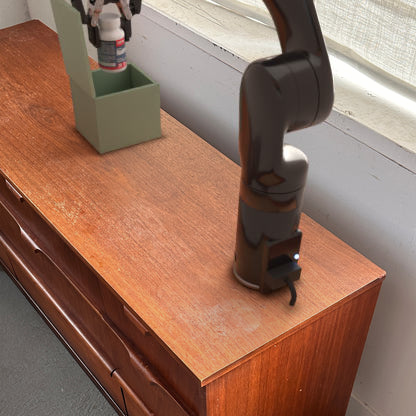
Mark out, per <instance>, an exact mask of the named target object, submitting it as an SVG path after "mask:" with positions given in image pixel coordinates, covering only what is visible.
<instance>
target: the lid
mask: <svg viewBox="0 0 416 416" xmlns="http://www.w3.org/2000/svg"><path fill="white" fill-rule="evenodd" d="M49 1H50V7H51V10H52V11H51V12H52V15H53V19H54V20H53V21H54V24H55V28H56V33H57V38H58V42H59V46H60V51H61V56H62V59H63V64H64V68H65V69H64V70H65V73H66V75H67V76H68V77H69V76H70V77H71V78H72V79H73V80H74V81H75V82H76V83H77V84H78V85H79V86H80V87H81V88H82V89H83V90H84V91H86V92H87V93H88V94H89V95H90V96H91V97H92V98H94V97H96V94H95V89H94V83H93V78H92V73H91V70H92V69H91V63H90V58H89V54H88V53H89V52H88V48H87V42H86V38H85V31H84V27H83V24H82V21H81V16H80V12H79V11H77V10H76V9H75V8H74V7H72V4H71V3H69V2H67V1H66V0H49Z"/></svg>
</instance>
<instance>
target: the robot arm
mask: <svg viewBox="0 0 416 416" xmlns="http://www.w3.org/2000/svg"><path fill="white" fill-rule="evenodd" d="M69 1H70V5H71V6H72V7H74V8H75V9H76V10H77V11H79V12H80V16H81V21H82V25H86V29H87V35H88V36H87V37H88V42H89V43H90V44H91V45H92V46H93V47H94V48H95V49H97V48H100V37H99V28H100V27H99V26H98V19H99V15H100V14H102V12H103V8H104V6H107V5H108V4H115V6H116V7H117V9H118V11H119V14H120V26H119V27H120V28H121V29H123V31H124V35H125V43H128V42H130V39H131V38H132V34H133V32H132V18H133V17H134V16H135V15H139V14H141V11H142V3H143V2H142V1H143V0H87V2H86V7H87V9H86V10H85V5H84V3H83V0H69ZM261 1H262V3H263V4H264V6H265V8H266V10H267V12H268V13H269V15H270V18H271V20H272V22H273V25H274V28H275V31H276V35H277V39H278V41H279V46H280V52H281V53H278V54H274V55H270V56H265V57H261V58H258V59H255V60H252V61H251V62H249V63H248V64H247V66H246V67H245V69H244V71H243V73H242V76H241V79H240V84H239V93H238V140H237V141H238V143H237V144H238V153H239V160H240V178H239V191H238V204H237V205H238V206H237V216H236V217H237V219H236V231H235V234H236V235H235V244H234V252H233V256H234V259H233V261H232V262H233V264H232V266H233V267H232V273H233V276H234V278H235V279H236V280H237V282H239V283H240V284H241V285H242V286H245V287H246V288H248V289H252V290H255V291H258V292H260V293H261V294H262V295H266V294H268V293H270V292H273V291H276V290H279V289H281V288H283V287H285V286H287V288H288V291H289V294H290V300H289V302H288V306H289V307H294V306H295V305H296V302H297V299H298V293H297V290H296V287H295V285H294V283H295V282H296V281H299V280H300V279H301V274H302V269H303V268H302V266H300V265H299V264H298V263H299V257H300V252H301V246H302V241H303V231H302V230H301V229H300V223H301V217H302V210H303V205H304V204H303V203H304V198H305V192H306V186H307V180H308V174H309V168H310V167H309V165H310V163H309V159H308V157H307V155H306V153H304V151H302V150H301V149H299V148H298V147H296V146H294V145H292V144H291V143H290V144H289V143H287V142H284V141H285V140H284V139H285V136H286V134H291V133H295V132H298V131H301V130H305V129H308V128H311V127H314V126H318V125H321V124H322V123H324V122H325V121H326V120H327V119H328V118H329V117H330V116H331V113H332V111H333V108H334V104H335V94H336V93H335V79H334V78H335V77H334V73H333V68H332V63H331V59H330V55H329V51H328V47H327V43H326V41H325V35H324V33H323V29H322V25H321V21H320V18H319V14H318V11H317V6H316V3H315V0H261Z"/></svg>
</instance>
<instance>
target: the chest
mask: <svg viewBox="0 0 416 416" xmlns="http://www.w3.org/2000/svg"><path fill="white" fill-rule="evenodd" d="M126 65H127V66H126V69H125V70H123V71H121V72H117V73H108V72H104V71H102V70H100V68H96V69H91V73H92V78H93V83H94V89H95V94H96V97H94V98H92V97H91V96H90V95H89V94H88V93H87V92H86V91H84V90H83V89H82V88H81V87H80V86H79V85H78V84H77V83H76V82H75V81H74V80H73V79H72V78H71V77H70V76H69V75H68V79H69V87H70V94H71V101H72V102H71V103H72V107H73V108H72V109H73V117H74V124H75V129H76V130H77V132H79V133H80V134H81V136H83V137H84V139H85V140H86V141H87V142H88V143H89V144H90V145H91V146H92V147H93V148H94V149H95V150H96V151H97V152H98V153H99V154H100V155H102V154H107V153H110V152H113V151H117V150H121V149H123V148H128V147H131V146H134V145H137V144H141V143H145V142H149V141H153V140H156V139H160V138H162V123H161V122H162V120H161V119H162V117H161V116H162V113H161V84H160V83H159V82H158V81H156V79H154V78H153V77H152V76H151V75H149V74H148V73H147V72H145V71H144V70H143V68H140V67H139V66H138V65H137V64H135V62H133V61H132V60H131V61H126Z"/></svg>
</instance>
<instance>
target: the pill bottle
mask: <svg viewBox="0 0 416 416" xmlns="http://www.w3.org/2000/svg"><path fill="white" fill-rule="evenodd" d="M120 17H121V15H119V14H118V13H114V12H103V13H102V12H101V13H100V14H99V19H98V23H97V26H98V27H99V37H100V48H96V53H97V62H98V63H97V65H98V69H100V70H102V71H104V72H108V73H117V72H121V71H123V70H125V69H126V66H127V65H126V62H127V51H126V50H127V49H126V42H125V35H124V31H123V29H121V28H120Z"/></svg>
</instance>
